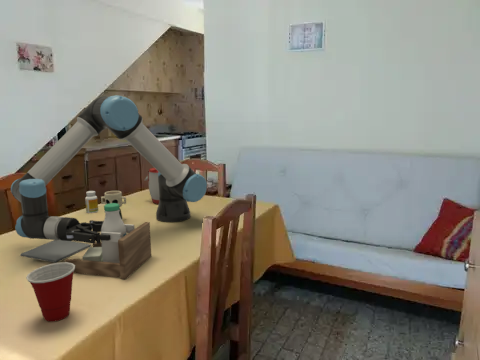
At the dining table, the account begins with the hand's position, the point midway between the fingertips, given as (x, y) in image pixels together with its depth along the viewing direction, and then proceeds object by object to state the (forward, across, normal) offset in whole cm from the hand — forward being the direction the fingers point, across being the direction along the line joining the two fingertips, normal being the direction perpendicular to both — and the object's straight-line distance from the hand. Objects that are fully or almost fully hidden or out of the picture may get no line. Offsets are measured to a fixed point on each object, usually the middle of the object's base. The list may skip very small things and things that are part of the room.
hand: (127, 233), depth 126 cm
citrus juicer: (-22, -79, -11) cm, 83 cm away
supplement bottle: (-48, -55, -11) cm, 74 cm away
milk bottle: (-5, 0, -11) cm, 12 cm away
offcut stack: (-12, -1, -11) cm, 17 cm away
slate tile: (-32, -7, -11) cm, 34 cm away
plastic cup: (-4, +31, -11) cm, 33 cm away
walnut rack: (-8, 0, -11) cm, 14 cm away
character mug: (-29, -43, -11) cm, 53 cm away
